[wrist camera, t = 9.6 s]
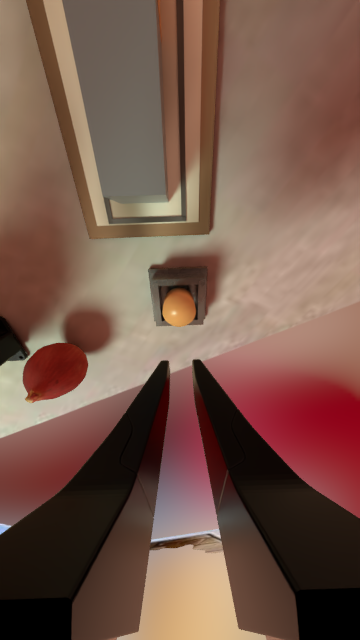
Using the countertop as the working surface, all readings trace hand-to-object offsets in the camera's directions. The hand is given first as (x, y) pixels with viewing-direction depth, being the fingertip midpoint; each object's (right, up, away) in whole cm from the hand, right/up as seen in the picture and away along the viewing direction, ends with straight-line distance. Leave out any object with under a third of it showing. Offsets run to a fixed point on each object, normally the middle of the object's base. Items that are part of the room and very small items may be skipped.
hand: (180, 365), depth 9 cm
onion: (-14, -1, +13) cm, 19 cm away
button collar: (0, +5, +9) cm, 10 cm away
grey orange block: (-3, +17, +2) cm, 17 cm away
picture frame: (-3, +17, +3) cm, 18 cm away
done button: (0, +4, +8) cm, 9 cm away
